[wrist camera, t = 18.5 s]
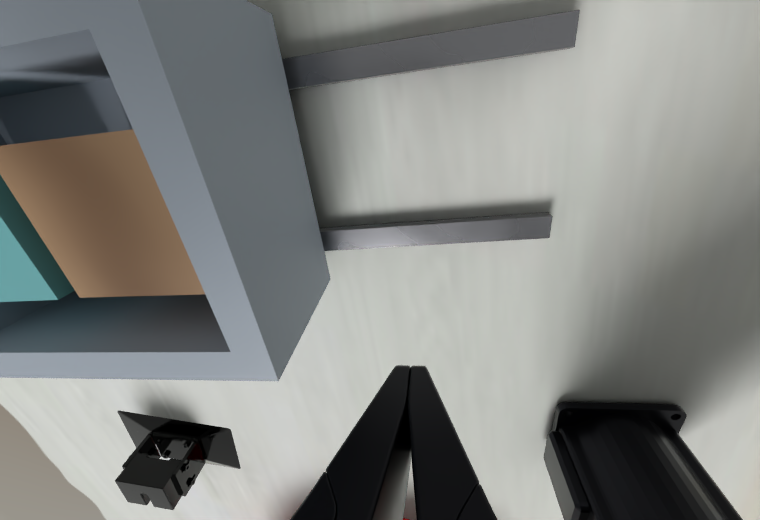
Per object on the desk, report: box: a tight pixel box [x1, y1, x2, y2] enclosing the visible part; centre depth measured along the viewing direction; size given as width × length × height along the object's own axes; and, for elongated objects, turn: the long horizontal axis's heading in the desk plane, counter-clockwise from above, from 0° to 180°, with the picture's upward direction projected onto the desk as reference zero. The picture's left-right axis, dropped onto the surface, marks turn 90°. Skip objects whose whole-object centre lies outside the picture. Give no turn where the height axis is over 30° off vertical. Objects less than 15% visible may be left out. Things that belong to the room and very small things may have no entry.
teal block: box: [0, 175, 75, 302], centre depth 11 cm, size 4×4×4 cm
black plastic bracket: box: [115, 411, 240, 510], centre depth 24 cm, size 12×7×5 cm, turn 87°
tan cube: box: [0, 129, 205, 298], centre depth 10 cm, size 4×4×4 cm
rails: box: [282, 10, 579, 251], centre depth 14 cm, size 23×8×1 cm, turn 97°
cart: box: [0, 0, 330, 381], centre depth 12 cm, size 13×12×7 cm
